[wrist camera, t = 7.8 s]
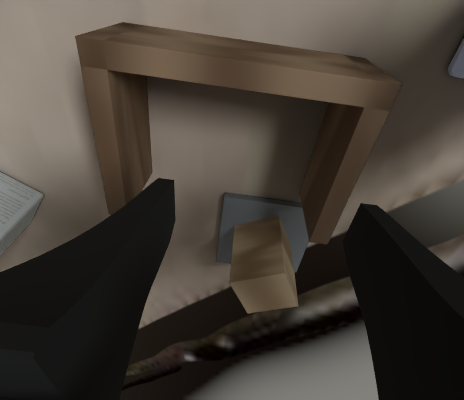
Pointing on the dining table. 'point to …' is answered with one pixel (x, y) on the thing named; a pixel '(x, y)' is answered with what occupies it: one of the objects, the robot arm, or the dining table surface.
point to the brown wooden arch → (240, 77)
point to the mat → (257, 208)
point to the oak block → (263, 266)
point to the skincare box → (15, 209)
